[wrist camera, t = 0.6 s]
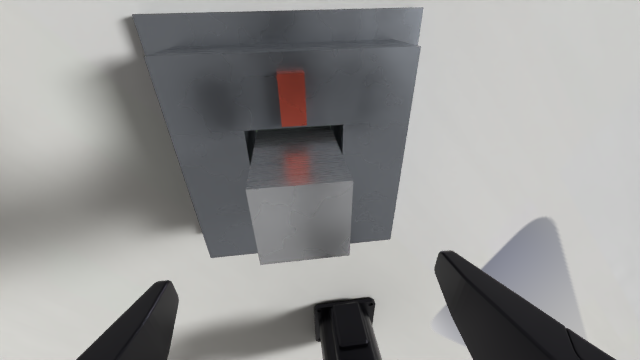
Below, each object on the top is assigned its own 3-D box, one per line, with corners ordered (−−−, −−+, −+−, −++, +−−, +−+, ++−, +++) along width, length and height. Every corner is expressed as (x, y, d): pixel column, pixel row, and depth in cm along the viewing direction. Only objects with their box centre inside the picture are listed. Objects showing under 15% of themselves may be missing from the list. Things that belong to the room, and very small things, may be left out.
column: (326, 170, 19) (351, 256, 12) (266, 174, 19) (258, 266, 12) (326, 111, 17) (356, 178, 10) (257, 115, 17) (242, 187, 10)
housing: (387, 214, 23) (411, 258, 19) (207, 231, 22) (190, 283, 18) (417, 7, 15) (468, 6, 11) (138, 14, 14) (78, 15, 10)
